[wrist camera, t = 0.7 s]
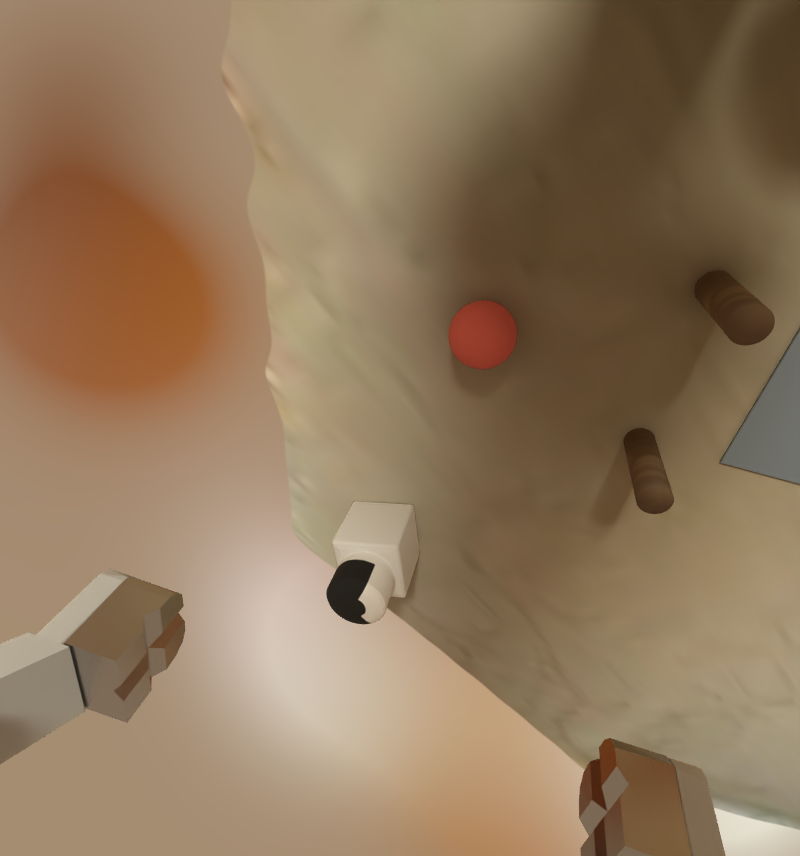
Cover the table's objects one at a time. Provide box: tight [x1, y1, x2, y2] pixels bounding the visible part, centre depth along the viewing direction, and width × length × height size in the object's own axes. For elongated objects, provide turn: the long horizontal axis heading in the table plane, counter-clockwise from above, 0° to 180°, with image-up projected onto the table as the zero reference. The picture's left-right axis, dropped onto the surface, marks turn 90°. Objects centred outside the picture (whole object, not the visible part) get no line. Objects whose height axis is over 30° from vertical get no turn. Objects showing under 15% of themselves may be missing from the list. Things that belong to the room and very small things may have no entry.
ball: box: [449, 300, 517, 369], centre depth 44 cm, size 6×6×6 cm
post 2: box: [695, 271, 774, 345], centre depth 37 cm, size 3×3×9 cm
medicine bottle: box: [327, 501, 420, 624], centre depth 56 cm, size 7×7×12 cm
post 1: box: [624, 429, 674, 514], centre depth 44 cm, size 3×3×9 cm
